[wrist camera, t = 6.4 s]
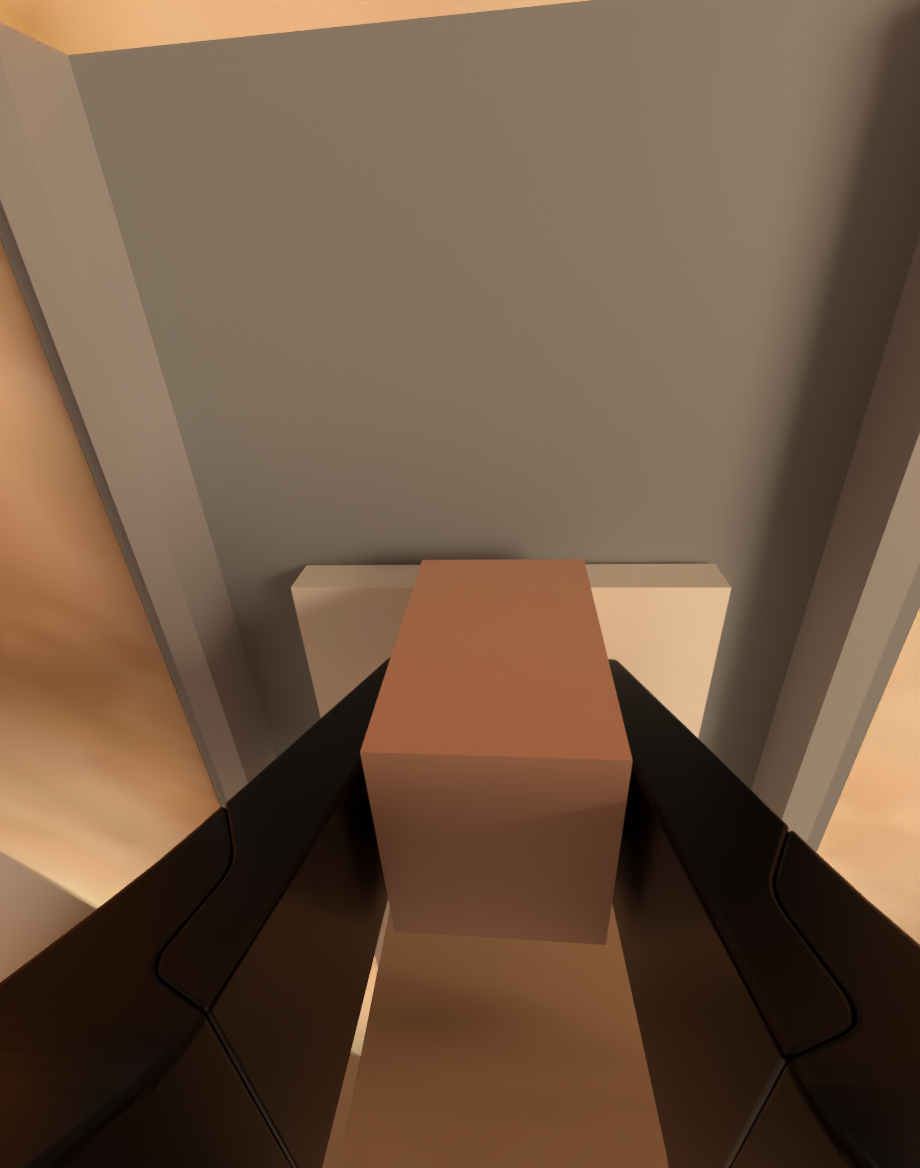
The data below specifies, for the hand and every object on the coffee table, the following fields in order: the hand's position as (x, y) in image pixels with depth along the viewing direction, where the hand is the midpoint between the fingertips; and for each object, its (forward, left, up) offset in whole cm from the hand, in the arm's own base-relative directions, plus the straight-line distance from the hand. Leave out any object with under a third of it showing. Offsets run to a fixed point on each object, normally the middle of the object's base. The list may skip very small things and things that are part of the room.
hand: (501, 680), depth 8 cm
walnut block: (-9, 0, -1) cm, 9 cm away
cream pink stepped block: (-6, 0, -2) cm, 6 cm away
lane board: (-1, 0, -3) cm, 3 cm away
